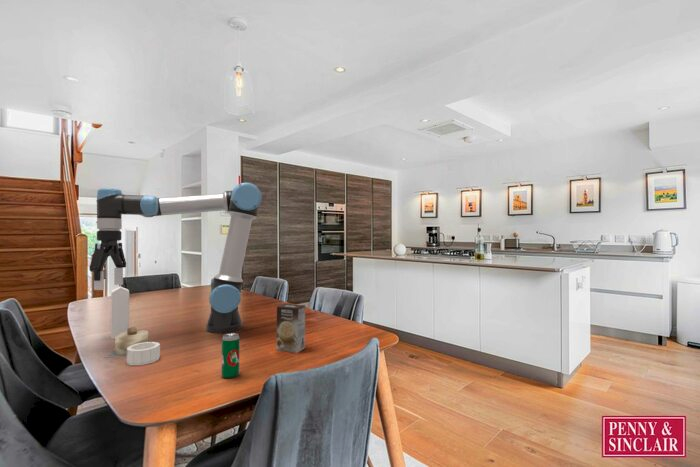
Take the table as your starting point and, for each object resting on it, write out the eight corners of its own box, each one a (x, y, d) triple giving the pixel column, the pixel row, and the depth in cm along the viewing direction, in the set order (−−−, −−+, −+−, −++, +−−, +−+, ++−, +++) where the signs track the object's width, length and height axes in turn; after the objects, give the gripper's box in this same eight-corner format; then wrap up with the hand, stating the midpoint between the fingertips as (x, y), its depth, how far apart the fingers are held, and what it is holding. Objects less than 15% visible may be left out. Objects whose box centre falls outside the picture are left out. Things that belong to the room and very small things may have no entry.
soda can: (224, 372, 102) (224, 332, 103) (241, 371, 103) (241, 332, 103) (219, 379, 97) (219, 337, 98) (237, 378, 98) (237, 337, 98)
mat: (156, 345, 127) (156, 344, 127) (143, 356, 116) (143, 355, 116) (121, 347, 125) (121, 346, 125) (104, 358, 113) (104, 357, 113)
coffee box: (275, 350, 123) (275, 306, 123) (284, 345, 129) (284, 303, 129) (297, 353, 120) (298, 308, 120) (305, 347, 126) (306, 304, 126)
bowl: (163, 355, 116) (163, 341, 117) (153, 365, 108) (153, 349, 108) (134, 357, 115) (134, 342, 115) (121, 367, 106) (121, 351, 106)
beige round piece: (152, 345, 126) (152, 324, 126) (141, 354, 117) (141, 331, 117) (122, 347, 124) (123, 325, 125) (108, 356, 115) (109, 332, 115)
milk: (111, 340, 134) (111, 284, 135) (110, 336, 139) (110, 283, 139) (129, 337, 138) (129, 283, 138) (128, 333, 143) (128, 281, 143)
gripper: (115, 230, 137) (115, 282, 137) (76, 229, 113) (76, 292, 112) (135, 230, 139) (135, 282, 138) (101, 229, 114) (101, 292, 114)
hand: (109, 287), depth 125 cm, fingers open, 13 cm apart
